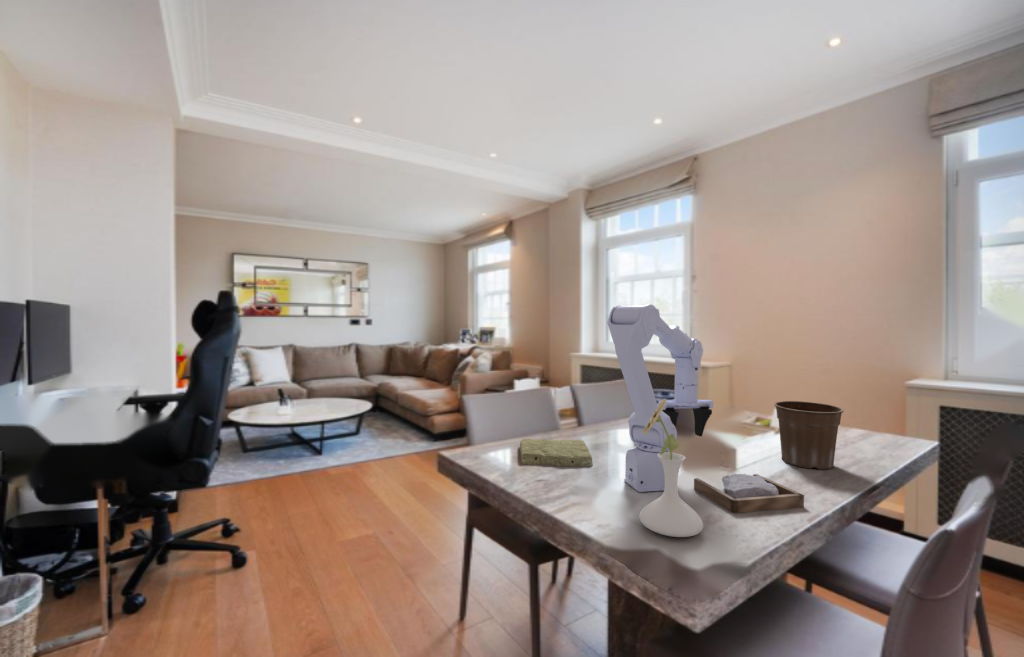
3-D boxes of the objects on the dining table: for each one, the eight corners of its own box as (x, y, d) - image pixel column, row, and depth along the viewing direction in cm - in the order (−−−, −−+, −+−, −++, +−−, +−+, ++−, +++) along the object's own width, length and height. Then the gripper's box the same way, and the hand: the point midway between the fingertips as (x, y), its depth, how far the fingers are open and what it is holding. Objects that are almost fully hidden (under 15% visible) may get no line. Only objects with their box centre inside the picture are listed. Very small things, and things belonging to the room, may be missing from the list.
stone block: (735, 513, 96) (785, 507, 94) (731, 491, 96) (780, 484, 95) (718, 494, 108) (762, 489, 106) (714, 474, 108) (758, 468, 106)
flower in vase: (657, 511, 92) (659, 390, 92) (713, 530, 84) (715, 397, 83) (622, 530, 83) (624, 396, 83) (681, 554, 75) (683, 405, 75)
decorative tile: (519, 448, 139) (519, 437, 139) (584, 449, 139) (584, 438, 139) (519, 467, 121) (519, 454, 121) (594, 468, 120) (594, 455, 120)
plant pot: (831, 477, 114) (832, 414, 114) (763, 461, 126) (764, 404, 126) (850, 465, 124) (851, 407, 124) (786, 451, 137) (787, 399, 137)
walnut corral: (733, 513, 91) (733, 500, 91) (693, 488, 105) (694, 478, 105) (803, 506, 95) (804, 495, 95) (756, 484, 108) (756, 474, 108)
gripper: (669, 386, 111) (668, 441, 111) (720, 385, 114) (720, 438, 114) (654, 383, 118) (654, 434, 118) (703, 382, 121) (703, 432, 121)
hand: (685, 436), depth 117 cm, fingers open, 7 cm apart
